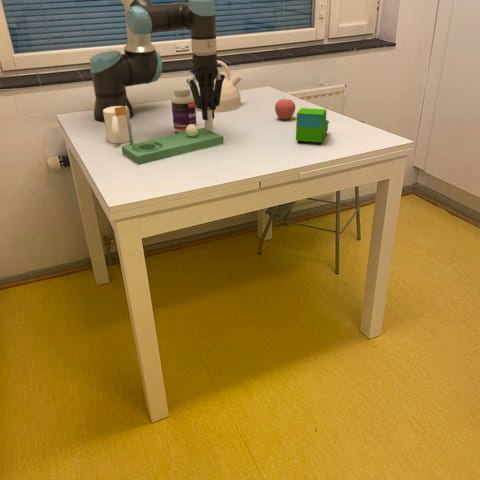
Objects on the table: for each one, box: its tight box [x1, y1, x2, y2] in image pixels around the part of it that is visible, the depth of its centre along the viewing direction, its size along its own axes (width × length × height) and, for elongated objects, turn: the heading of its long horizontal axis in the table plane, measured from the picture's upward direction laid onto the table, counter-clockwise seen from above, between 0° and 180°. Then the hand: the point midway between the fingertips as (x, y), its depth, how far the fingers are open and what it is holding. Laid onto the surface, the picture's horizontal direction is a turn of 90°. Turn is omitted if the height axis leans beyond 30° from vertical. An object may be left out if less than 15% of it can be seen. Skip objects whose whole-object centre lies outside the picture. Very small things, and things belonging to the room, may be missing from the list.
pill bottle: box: [170, 86, 198, 133], centre depth 164 cm, size 8×8×14 cm
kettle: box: [189, 59, 243, 113], centre depth 192 cm, size 20×21×18 cm
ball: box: [186, 124, 199, 137], centre depth 153 cm, size 4×4×4 cm
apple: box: [274, 97, 296, 121], centre depth 175 cm, size 7×7×8 cm
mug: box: [103, 106, 134, 144], centre depth 157 cm, size 8×10×12 cm
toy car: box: [295, 107, 330, 145], centre depth 155 cm, size 10×13×10 cm
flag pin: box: [114, 106, 134, 145], centre depth 145 cm, size 1×4×12 cm, turn 125°
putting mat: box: [121, 127, 224, 165], centre depth 152 cm, size 12×30×2 cm, turn 125°
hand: (209, 129), depth 157 cm, fingers closed
